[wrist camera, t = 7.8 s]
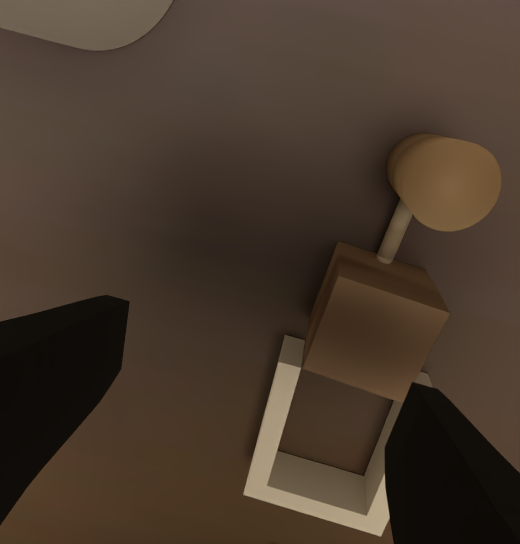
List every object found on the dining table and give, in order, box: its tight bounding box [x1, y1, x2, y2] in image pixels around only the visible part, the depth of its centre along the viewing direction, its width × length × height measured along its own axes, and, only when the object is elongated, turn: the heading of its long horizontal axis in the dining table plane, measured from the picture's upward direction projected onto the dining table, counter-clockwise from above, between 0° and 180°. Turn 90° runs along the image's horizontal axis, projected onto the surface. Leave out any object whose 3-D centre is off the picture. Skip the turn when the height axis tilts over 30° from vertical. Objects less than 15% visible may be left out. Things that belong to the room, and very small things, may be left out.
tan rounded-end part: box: [302, 133, 501, 403], centre depth 16 cm, size 9×4×6 cm, turn 164°
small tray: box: [243, 335, 433, 536], centre depth 21 cm, size 8×7×2 cm
